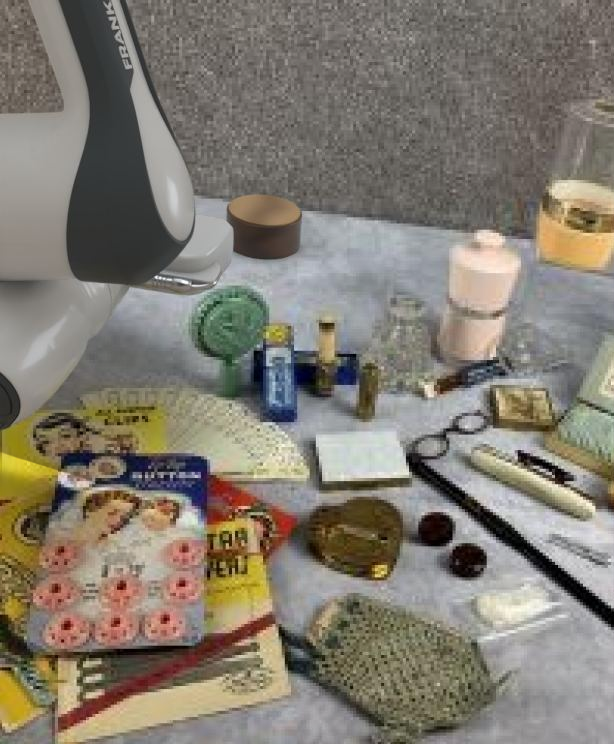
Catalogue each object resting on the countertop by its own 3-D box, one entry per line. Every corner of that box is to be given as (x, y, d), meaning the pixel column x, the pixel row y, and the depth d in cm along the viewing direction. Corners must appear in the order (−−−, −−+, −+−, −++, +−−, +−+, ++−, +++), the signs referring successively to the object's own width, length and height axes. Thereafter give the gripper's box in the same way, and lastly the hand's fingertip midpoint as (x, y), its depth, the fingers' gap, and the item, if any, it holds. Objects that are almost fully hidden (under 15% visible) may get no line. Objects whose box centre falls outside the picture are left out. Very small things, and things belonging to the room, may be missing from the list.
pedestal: (223, 255, 100) (224, 221, 98) (228, 223, 106) (229, 190, 104) (299, 261, 102) (302, 228, 100) (299, 229, 108) (302, 197, 106)
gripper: (211, 255, 66) (254, 181, 77) (-93, 203, 64) (-2, 135, 75) (209, 331, 69) (251, 249, 81) (-80, 284, 67) (5, 207, 79)
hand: (127, 194), depth 78 cm, fingers closed on pill bottle, 6 cm apart
